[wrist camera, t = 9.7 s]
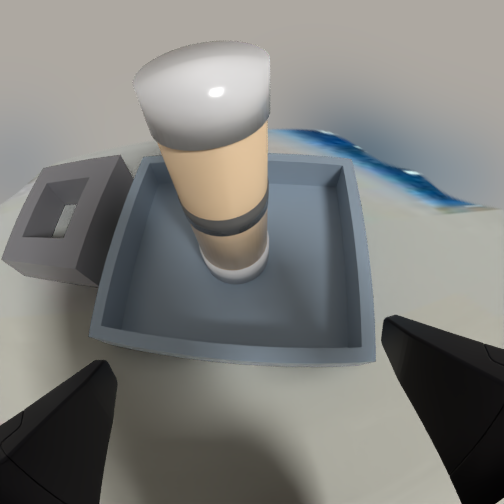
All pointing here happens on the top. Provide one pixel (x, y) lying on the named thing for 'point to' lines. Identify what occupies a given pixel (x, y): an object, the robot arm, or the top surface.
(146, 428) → the top surface
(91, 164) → the fuse holder
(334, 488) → the top surface
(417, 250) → the top surface
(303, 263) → the parts tray
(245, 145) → the fuse
